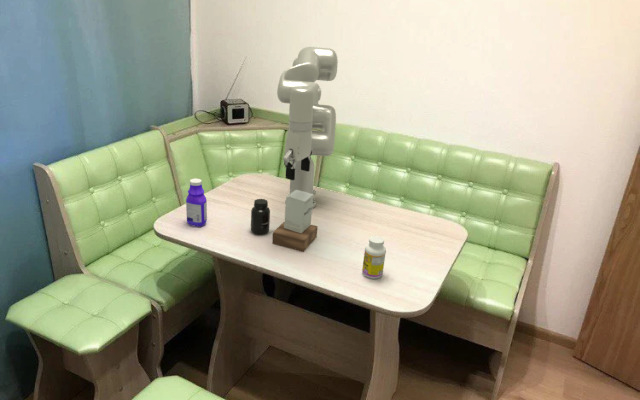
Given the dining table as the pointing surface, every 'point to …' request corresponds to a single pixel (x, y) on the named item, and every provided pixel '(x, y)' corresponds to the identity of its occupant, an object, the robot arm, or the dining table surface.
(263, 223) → the supplement bottle
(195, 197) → the bottle
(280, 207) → the dining table surface
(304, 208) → the supplement box
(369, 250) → the supplement bottle
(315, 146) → the robot arm
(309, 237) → the walnut block
